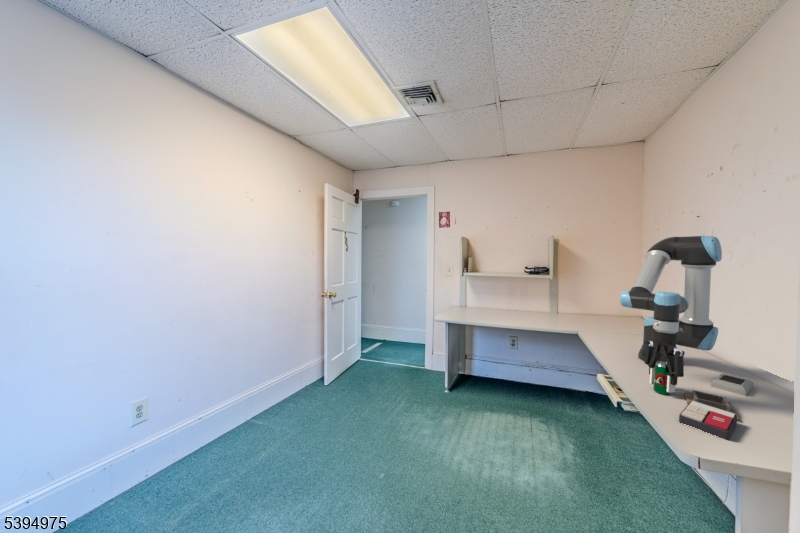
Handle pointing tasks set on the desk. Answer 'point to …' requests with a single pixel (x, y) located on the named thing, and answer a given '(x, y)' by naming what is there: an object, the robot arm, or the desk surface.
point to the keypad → (732, 384)
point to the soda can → (661, 377)
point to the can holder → (710, 401)
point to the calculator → (709, 419)
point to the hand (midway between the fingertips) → (661, 387)
